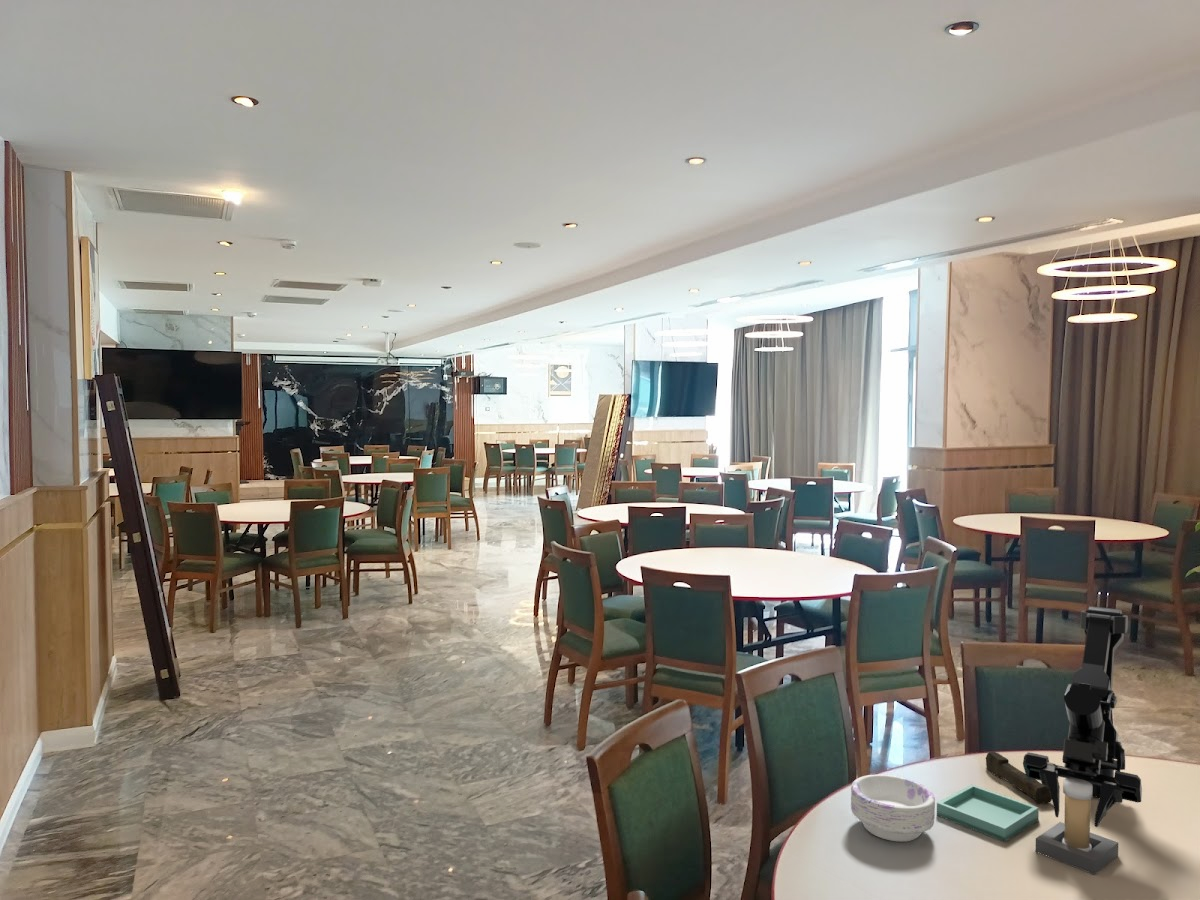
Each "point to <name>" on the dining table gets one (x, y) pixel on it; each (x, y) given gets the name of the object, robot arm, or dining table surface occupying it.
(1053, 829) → the frame
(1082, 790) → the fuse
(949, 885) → the dining table surface
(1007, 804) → the parts tray
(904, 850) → the dining table surface
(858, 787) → the paper bowls
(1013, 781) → the dark brown rod
